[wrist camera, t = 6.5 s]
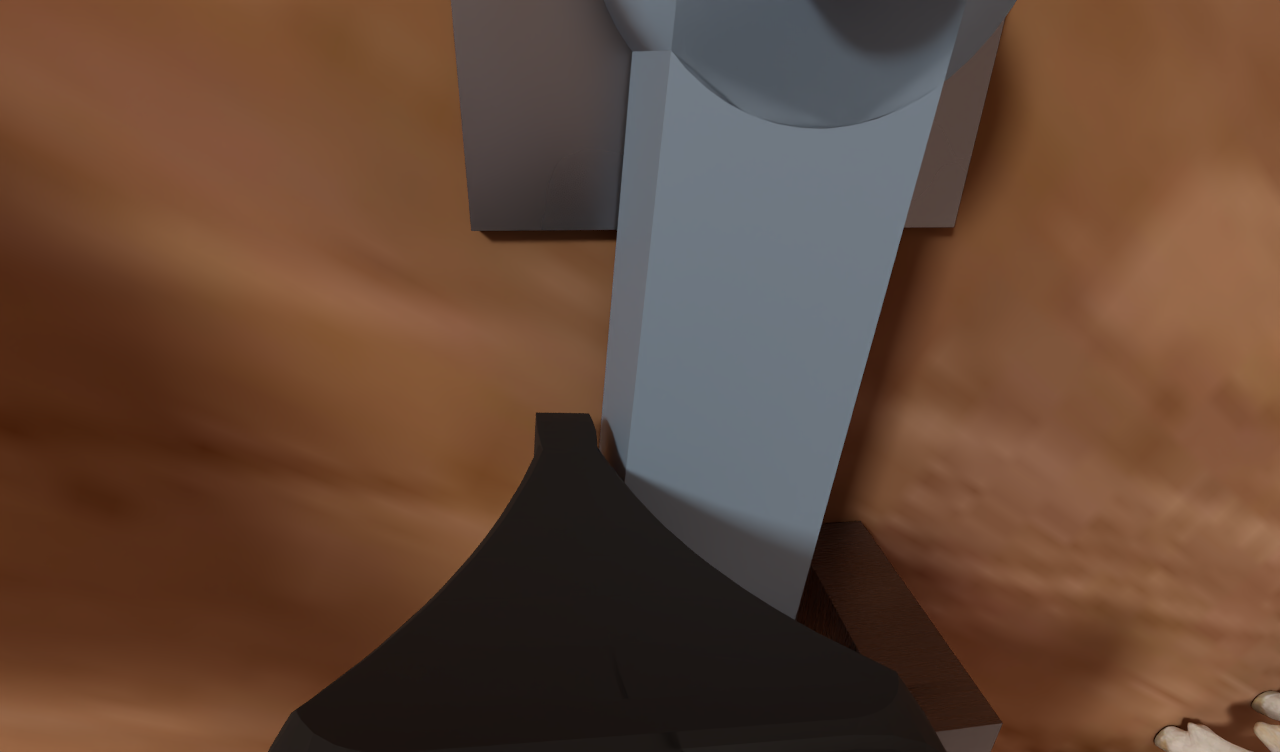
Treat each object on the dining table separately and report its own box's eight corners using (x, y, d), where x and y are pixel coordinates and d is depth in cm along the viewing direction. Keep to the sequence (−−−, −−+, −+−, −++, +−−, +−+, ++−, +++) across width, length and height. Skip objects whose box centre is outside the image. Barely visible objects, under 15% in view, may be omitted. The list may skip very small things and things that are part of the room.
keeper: (561, 694, 15) (573, 944, 11) (556, 544, 13) (567, 779, 9) (828, 664, 16) (934, 884, 12) (860, 521, 14) (1002, 722, 10)
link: (601, -340, 7) (658, -664, 4) (960, -263, 8) (1252, -477, 5) (548, 678, 14) (551, 861, 11) (740, 667, 15) (796, 835, 12)
